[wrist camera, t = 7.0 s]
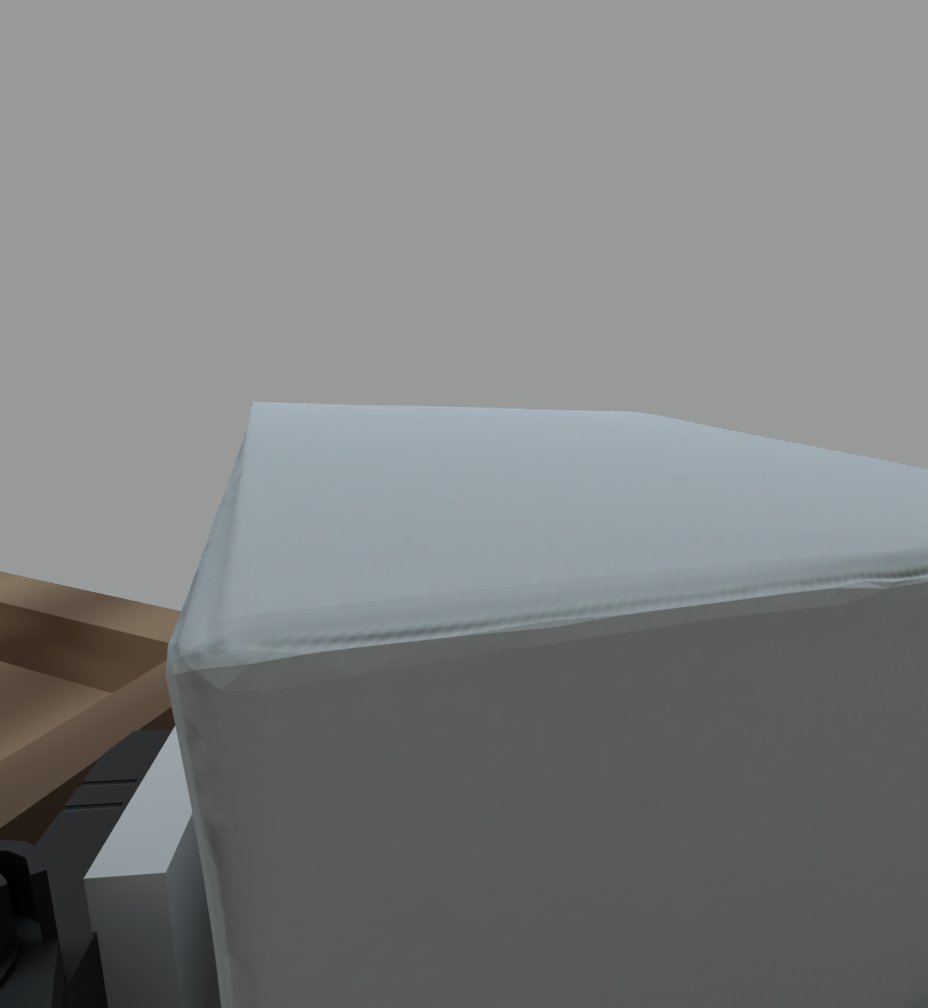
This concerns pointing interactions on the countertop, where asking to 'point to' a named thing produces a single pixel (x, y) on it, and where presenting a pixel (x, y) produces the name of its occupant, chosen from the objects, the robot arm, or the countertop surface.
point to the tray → (71, 691)
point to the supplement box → (557, 715)
